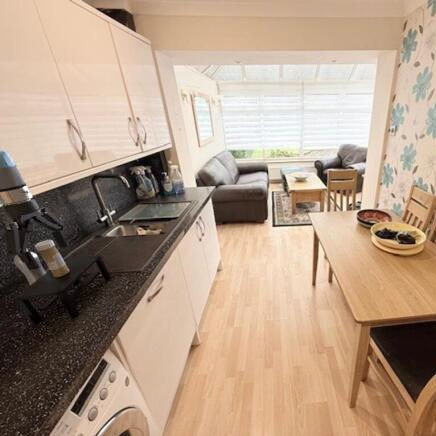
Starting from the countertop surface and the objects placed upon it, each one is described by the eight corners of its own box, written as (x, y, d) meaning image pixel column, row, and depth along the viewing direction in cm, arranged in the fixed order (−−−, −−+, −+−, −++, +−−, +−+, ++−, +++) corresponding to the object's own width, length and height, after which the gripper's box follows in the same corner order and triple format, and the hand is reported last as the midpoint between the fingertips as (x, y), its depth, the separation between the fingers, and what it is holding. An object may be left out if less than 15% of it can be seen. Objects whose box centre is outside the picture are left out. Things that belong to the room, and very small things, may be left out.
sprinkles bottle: (50, 277, 86) (30, 246, 80) (62, 269, 90) (44, 239, 84) (62, 277, 86) (42, 246, 80) (73, 269, 90) (55, 239, 84)
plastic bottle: (34, 288, 101) (7, 248, 92) (55, 280, 105) (31, 241, 96) (33, 295, 96) (4, 254, 88) (55, 287, 100) (29, 247, 91)
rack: (34, 324, 83) (14, 298, 77) (76, 282, 102) (63, 259, 97) (77, 317, 84) (60, 291, 79) (111, 277, 104) (99, 254, 98)
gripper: (-9, 216, 65) (32, 278, 74) (59, 188, 87) (84, 238, 96) (-40, 219, 64) (5, 281, 73) (37, 190, 86) (64, 240, 95)
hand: (50, 257), depth 85 cm, fingers open, 13 cm apart
